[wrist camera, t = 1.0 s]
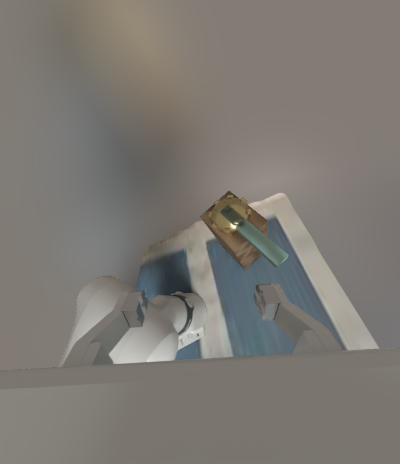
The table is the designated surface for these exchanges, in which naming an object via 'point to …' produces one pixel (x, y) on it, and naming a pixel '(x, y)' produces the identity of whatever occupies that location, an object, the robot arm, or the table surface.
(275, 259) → the gear axle
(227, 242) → the walnut stand
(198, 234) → the table surface
